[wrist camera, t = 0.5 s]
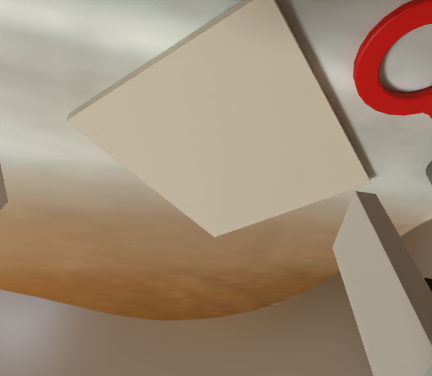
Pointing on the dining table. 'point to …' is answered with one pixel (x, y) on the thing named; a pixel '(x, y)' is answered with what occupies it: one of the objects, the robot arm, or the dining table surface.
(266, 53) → the mat
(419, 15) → the tow hook
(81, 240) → the dining table surface
